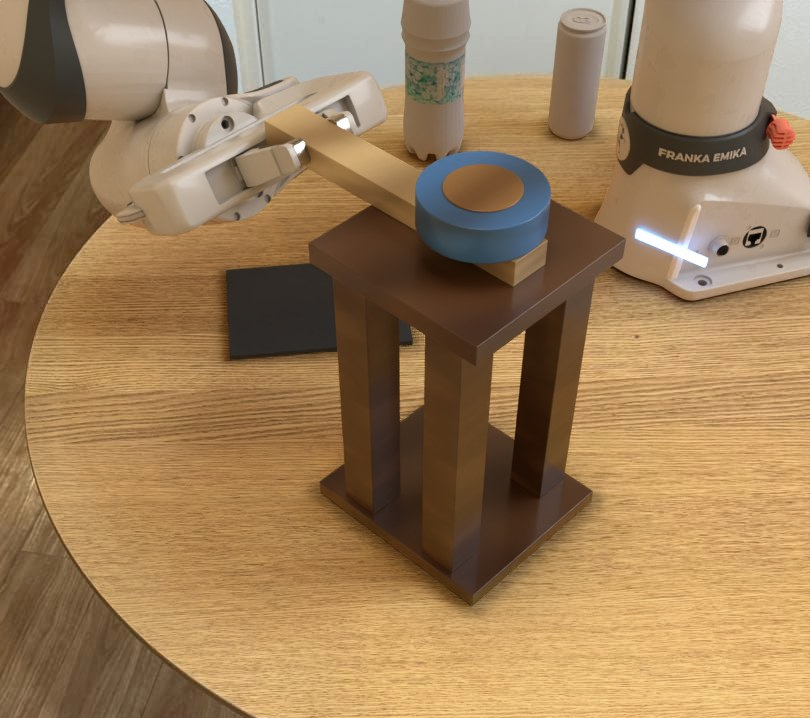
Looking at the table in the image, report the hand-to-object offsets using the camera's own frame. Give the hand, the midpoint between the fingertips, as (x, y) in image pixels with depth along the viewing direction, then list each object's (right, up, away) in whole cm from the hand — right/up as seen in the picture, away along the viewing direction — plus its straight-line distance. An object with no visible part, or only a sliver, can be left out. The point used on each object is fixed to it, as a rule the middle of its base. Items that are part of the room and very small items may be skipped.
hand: (324, 140), depth 76 cm
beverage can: (+23, +17, +47) cm, 55 cm away
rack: (+9, -23, +14) cm, 28 cm away
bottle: (+8, +14, +45) cm, 48 cm away
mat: (-3, -5, +28) cm, 29 cm away
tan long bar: (+5, -5, -2) cm, 7 cm away
